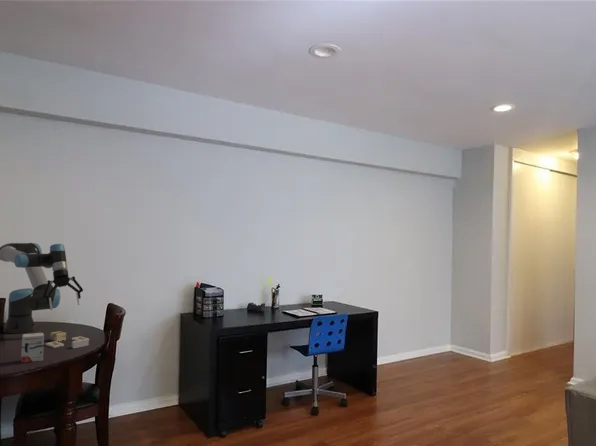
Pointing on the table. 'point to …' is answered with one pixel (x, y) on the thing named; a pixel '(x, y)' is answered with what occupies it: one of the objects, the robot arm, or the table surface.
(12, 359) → the table surface
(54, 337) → the maple block
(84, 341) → the block
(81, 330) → the table surface
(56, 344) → the trap pits
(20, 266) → the robot arm
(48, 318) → the table surface
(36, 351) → the ink box
